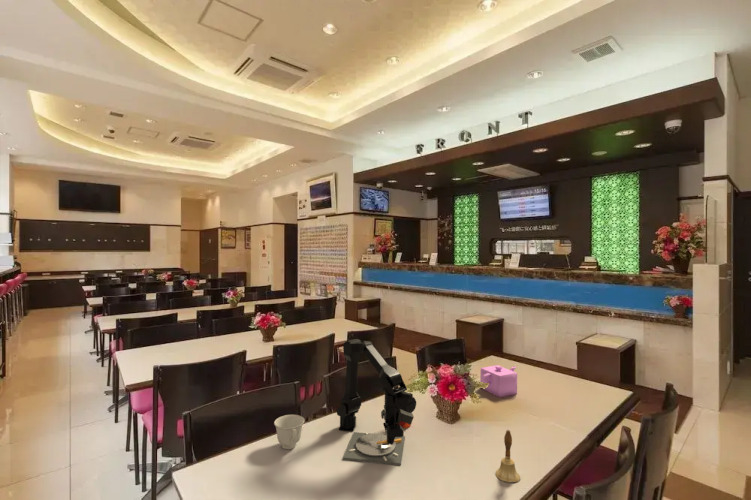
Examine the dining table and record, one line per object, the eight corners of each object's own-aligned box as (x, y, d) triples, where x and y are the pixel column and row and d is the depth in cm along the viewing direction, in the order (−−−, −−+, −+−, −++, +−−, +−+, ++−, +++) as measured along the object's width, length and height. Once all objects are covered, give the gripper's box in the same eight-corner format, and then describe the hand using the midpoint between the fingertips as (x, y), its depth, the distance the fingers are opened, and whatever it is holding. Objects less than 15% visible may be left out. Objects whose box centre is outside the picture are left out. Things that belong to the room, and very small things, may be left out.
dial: (361, 459, 141) (361, 448, 141) (351, 438, 156) (351, 429, 156) (401, 453, 146) (401, 442, 146) (387, 433, 161) (388, 424, 161)
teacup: (279, 460, 142) (279, 433, 142) (270, 442, 155) (271, 417, 155) (310, 452, 147) (310, 427, 147) (299, 435, 160) (299, 412, 160)
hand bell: (491, 469, 137) (492, 426, 137) (513, 468, 138) (514, 425, 138) (501, 483, 129) (501, 437, 129) (524, 482, 130) (525, 436, 130)
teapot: (526, 391, 213) (526, 367, 213) (492, 399, 202) (492, 373, 202) (506, 382, 226) (506, 359, 226) (473, 389, 216) (473, 365, 215)
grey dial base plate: (343, 459, 143) (343, 454, 143) (353, 433, 162) (353, 429, 162) (400, 465, 139) (400, 460, 139) (404, 438, 159) (404, 434, 159)
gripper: (417, 414, 140) (416, 455, 140) (407, 394, 159) (406, 431, 159) (387, 415, 139) (387, 457, 139) (381, 395, 157) (380, 433, 157)
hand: (391, 444), depth 148 cm, fingers closed
